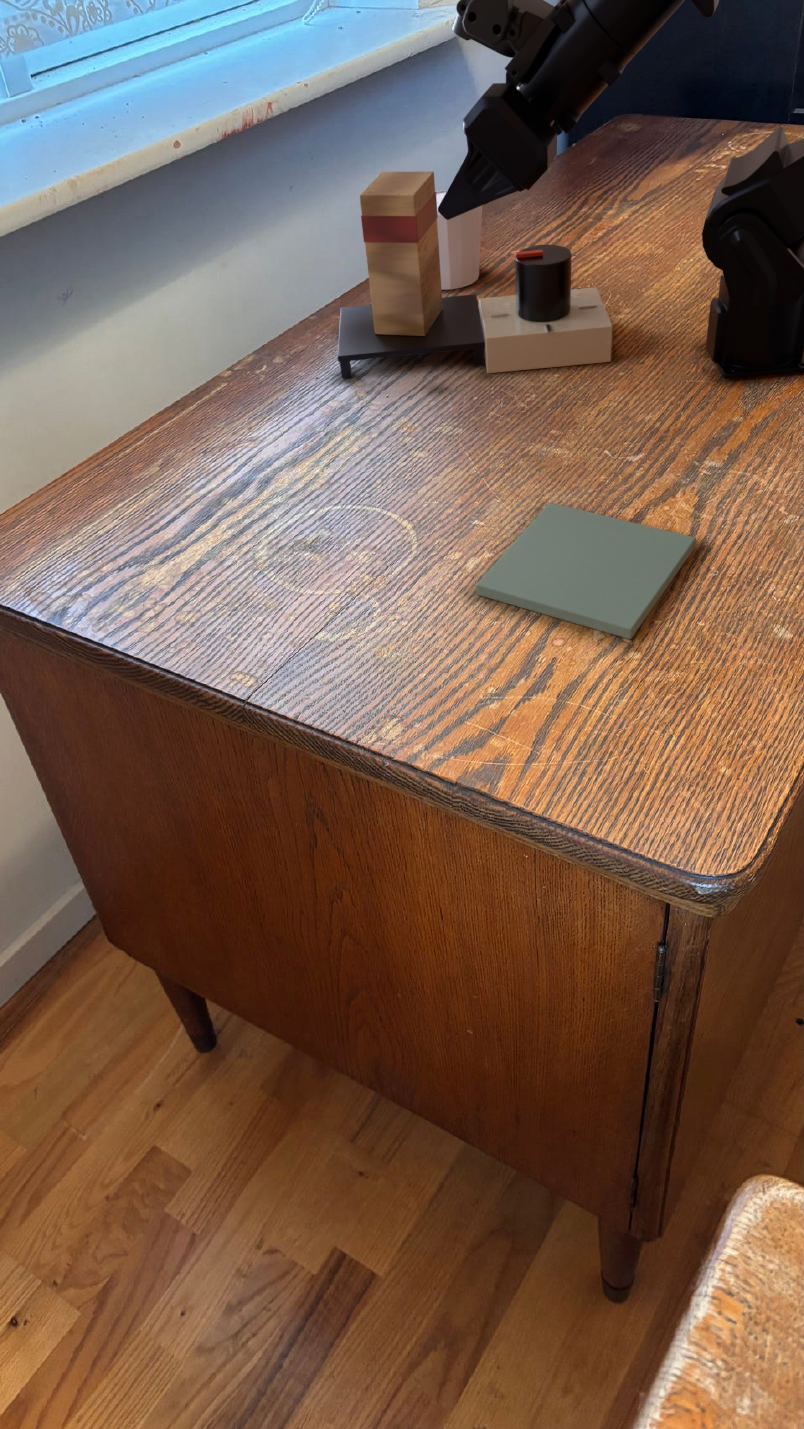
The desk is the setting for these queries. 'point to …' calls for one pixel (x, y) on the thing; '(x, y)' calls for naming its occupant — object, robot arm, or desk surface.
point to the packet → (402, 252)
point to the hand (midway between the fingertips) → (458, 193)
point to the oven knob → (543, 282)
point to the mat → (588, 569)
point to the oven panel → (545, 334)
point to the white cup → (459, 246)
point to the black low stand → (447, 333)
